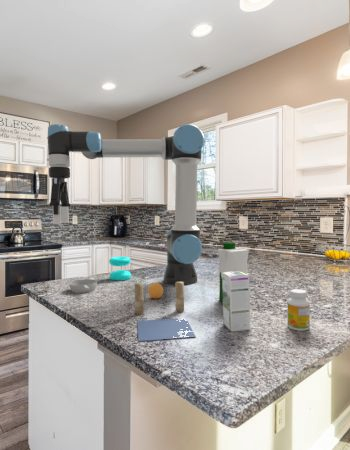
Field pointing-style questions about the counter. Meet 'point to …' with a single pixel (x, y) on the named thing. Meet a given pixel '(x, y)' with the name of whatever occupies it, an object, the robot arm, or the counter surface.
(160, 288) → the ball
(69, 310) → the counter surface
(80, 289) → the saucepan
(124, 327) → the counter surface
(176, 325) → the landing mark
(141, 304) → the left post
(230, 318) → the syrup box
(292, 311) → the supplement bottle
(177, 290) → the right post
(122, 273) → the donuts
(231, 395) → the counter surface
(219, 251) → the milk carton
